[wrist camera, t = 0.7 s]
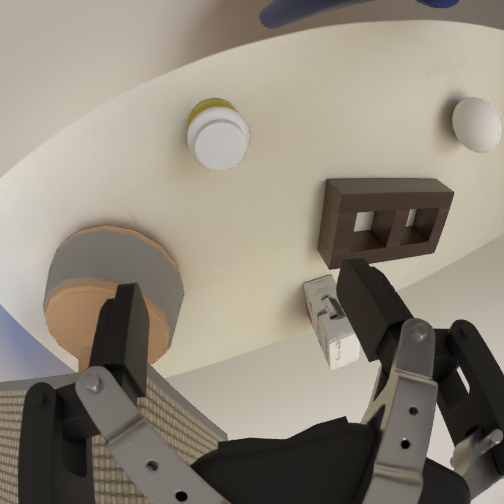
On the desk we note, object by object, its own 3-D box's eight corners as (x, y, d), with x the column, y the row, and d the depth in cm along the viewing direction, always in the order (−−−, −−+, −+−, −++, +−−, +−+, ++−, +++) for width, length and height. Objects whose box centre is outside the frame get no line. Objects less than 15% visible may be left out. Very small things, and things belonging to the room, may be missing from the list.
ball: (444, 87, 29) (486, 101, 23) (476, 96, 30) (514, 112, 24) (438, 139, 34) (476, 160, 27) (469, 143, 35) (505, 163, 28)
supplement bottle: (177, 121, 28) (169, 145, 20) (217, 87, 27) (226, 97, 19) (210, 155, 31) (217, 192, 23) (249, 124, 30) (271, 149, 22)
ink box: (333, 307, 50) (359, 361, 41) (307, 316, 50) (329, 372, 41) (331, 272, 45) (363, 330, 36) (302, 282, 45) (329, 342, 36)
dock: (326, 178, 35) (342, 194, 32) (436, 178, 38) (454, 192, 34) (317, 250, 42) (329, 270, 38) (419, 237, 44) (434, 253, 41)
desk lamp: (159, 189, 32) (149, 614, 3) (212, 301, 44) (257, 563, 15) (27, 247, 32) (-55, 510, 3) (95, 332, 44) (81, 548, 15)
